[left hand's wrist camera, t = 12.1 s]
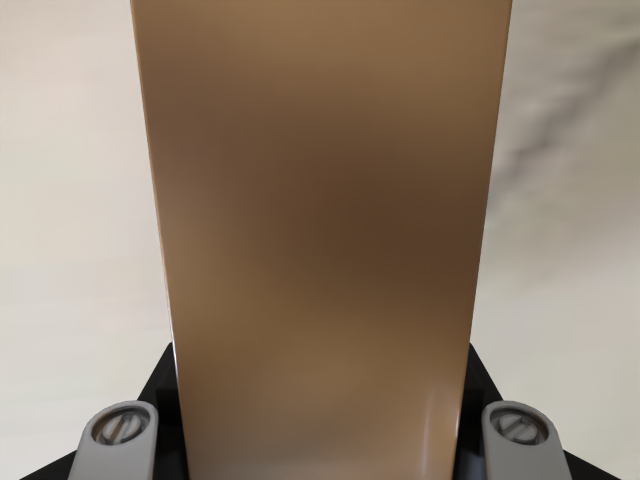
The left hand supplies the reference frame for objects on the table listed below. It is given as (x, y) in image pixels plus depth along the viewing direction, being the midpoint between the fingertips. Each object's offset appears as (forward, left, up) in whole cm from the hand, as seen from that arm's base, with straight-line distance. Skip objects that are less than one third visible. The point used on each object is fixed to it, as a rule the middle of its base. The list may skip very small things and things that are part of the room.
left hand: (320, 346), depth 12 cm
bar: (+26, +11, -2) cm, 28 cm away
